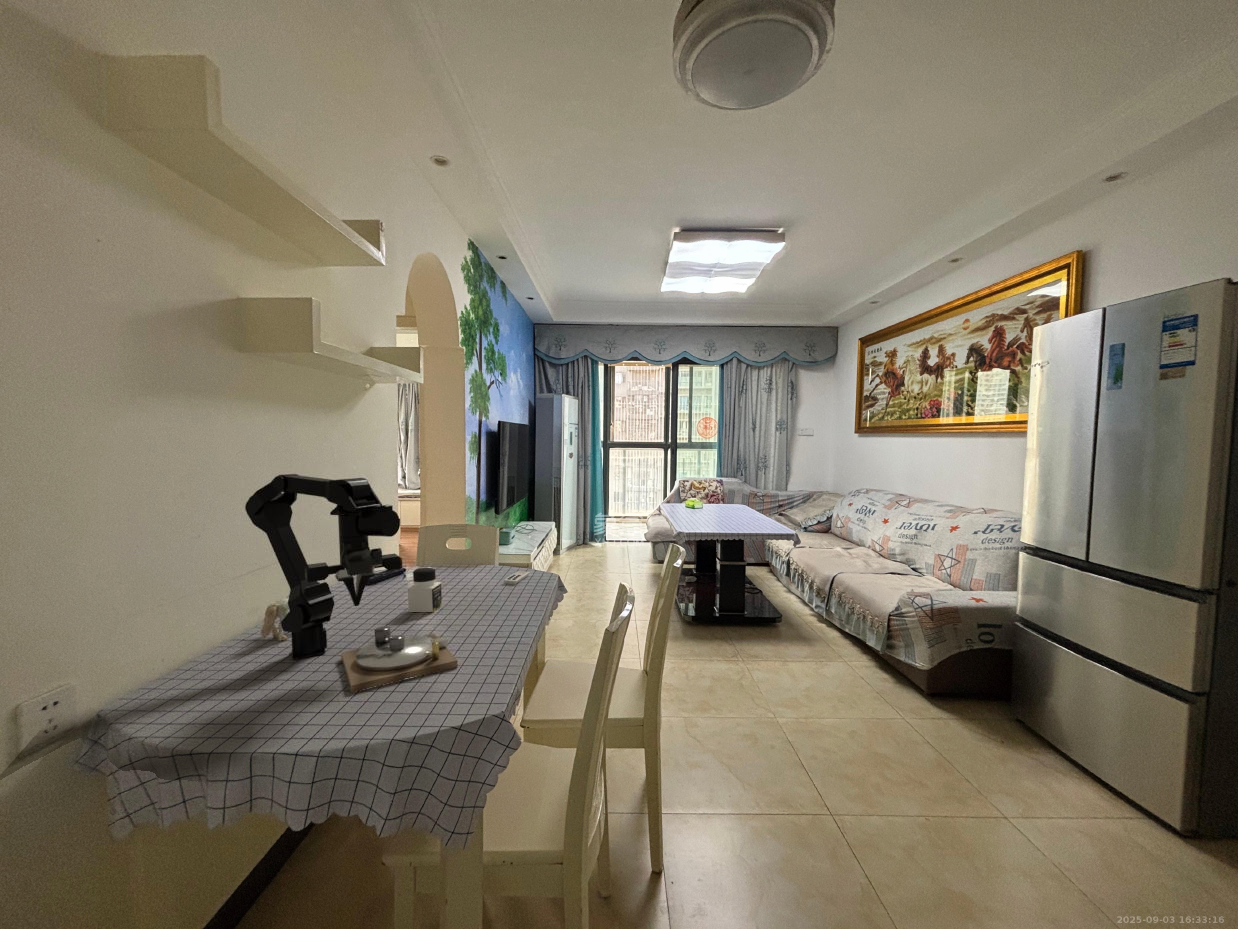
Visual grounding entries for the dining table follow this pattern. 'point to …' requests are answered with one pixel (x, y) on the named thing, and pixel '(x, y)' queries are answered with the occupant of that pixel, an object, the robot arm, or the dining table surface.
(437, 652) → the dowel
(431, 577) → the medicine bottle
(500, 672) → the dining table surface
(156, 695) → the dining table surface
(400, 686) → the dining table surface
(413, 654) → the flange plate
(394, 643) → the post
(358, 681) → the base board
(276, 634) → the unicorn figurine
